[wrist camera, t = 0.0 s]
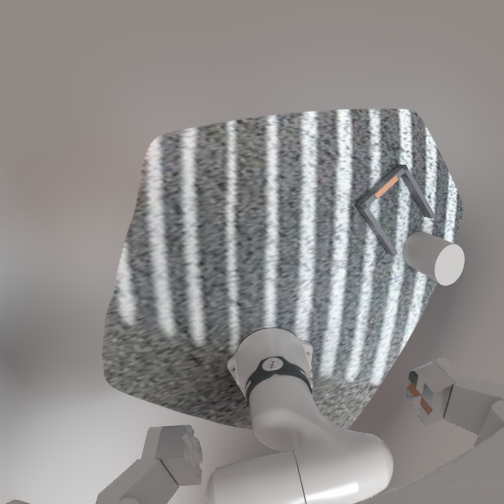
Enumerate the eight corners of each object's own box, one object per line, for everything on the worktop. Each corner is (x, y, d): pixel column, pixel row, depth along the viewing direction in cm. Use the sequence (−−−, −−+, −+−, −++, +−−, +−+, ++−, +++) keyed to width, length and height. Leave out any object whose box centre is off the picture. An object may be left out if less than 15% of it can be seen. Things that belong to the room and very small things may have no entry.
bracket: (427, 213, 59) (436, 216, 55) (387, 252, 60) (395, 256, 57) (398, 164, 55) (407, 164, 52) (354, 204, 57) (361, 206, 53)
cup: (410, 273, 62) (441, 293, 50) (397, 245, 60) (429, 261, 48) (435, 253, 61) (468, 268, 50) (424, 224, 59) (458, 235, 48)
